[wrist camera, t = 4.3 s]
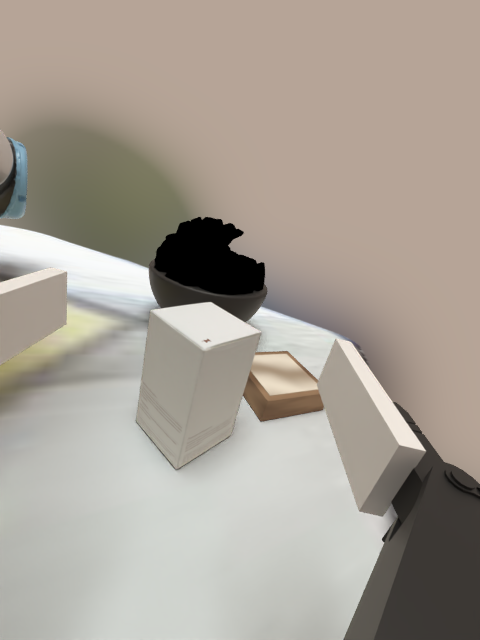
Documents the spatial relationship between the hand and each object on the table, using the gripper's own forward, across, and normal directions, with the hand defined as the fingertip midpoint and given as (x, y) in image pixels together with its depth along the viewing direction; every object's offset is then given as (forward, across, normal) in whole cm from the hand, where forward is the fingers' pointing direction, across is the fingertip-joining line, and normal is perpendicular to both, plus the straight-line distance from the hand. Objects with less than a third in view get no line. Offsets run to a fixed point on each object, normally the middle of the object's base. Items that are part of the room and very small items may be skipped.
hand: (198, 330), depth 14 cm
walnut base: (+21, +10, -16) cm, 28 cm away
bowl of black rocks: (+35, -4, -16) cm, 39 cm away
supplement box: (+10, 0, -17) cm, 20 cm away
